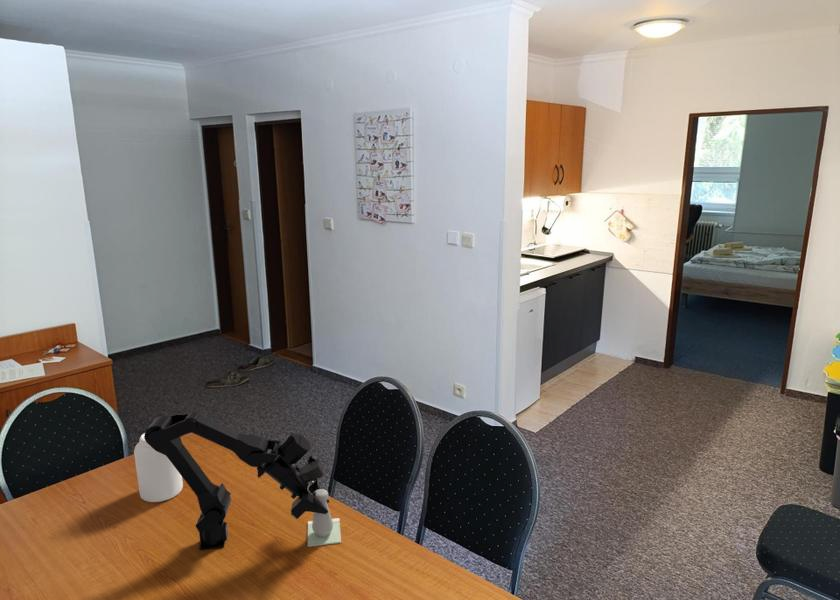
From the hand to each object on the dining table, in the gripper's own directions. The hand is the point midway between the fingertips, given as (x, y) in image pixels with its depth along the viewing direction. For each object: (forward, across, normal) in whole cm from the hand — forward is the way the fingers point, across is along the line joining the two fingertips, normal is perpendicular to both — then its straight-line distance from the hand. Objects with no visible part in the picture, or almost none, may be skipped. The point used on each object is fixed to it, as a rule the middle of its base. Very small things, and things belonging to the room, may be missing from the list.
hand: (327, 507), depth 159 cm
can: (-32, +26, +44) cm, 60 cm away
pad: (+5, 0, +7) cm, 9 cm away
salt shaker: (+5, 0, +7) cm, 8 cm away
